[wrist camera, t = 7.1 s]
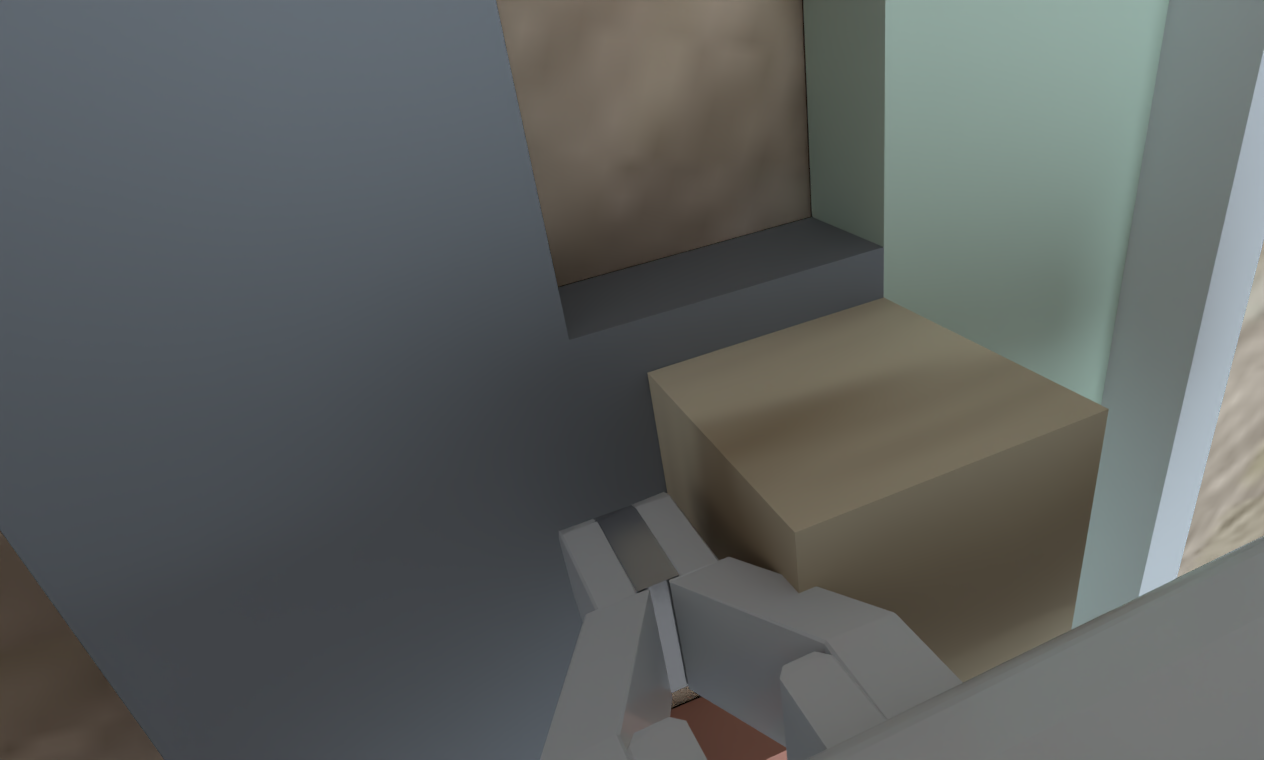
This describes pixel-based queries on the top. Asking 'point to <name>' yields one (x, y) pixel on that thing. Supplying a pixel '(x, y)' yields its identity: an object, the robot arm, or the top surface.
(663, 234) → the top surface
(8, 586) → the top surface
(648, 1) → the top surface
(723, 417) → the maple cube
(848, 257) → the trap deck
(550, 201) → the top surface
